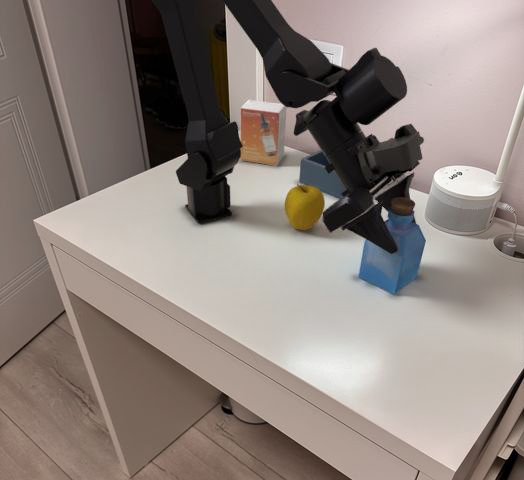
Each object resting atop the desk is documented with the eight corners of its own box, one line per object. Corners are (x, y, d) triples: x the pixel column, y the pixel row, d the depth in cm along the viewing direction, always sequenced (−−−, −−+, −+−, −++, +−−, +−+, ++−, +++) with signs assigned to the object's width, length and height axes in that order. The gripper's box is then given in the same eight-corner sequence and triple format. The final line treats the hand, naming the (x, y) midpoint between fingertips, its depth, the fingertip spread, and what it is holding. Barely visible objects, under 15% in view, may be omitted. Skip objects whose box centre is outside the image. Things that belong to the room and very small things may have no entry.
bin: (344, 200, 97) (347, 176, 94) (299, 182, 102) (300, 158, 99) (376, 181, 103) (380, 158, 100) (332, 165, 108) (334, 142, 105)
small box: (239, 161, 109) (239, 107, 102) (248, 150, 113) (248, 98, 106) (277, 166, 108) (279, 112, 100) (284, 155, 111) (287, 102, 104)
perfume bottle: (416, 277, 80) (435, 202, 72) (394, 294, 76) (411, 218, 68) (381, 261, 83) (396, 188, 75) (358, 277, 79) (370, 202, 71)
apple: (275, 228, 90) (277, 183, 84) (300, 214, 93) (303, 170, 88) (305, 242, 86) (308, 196, 81) (329, 228, 90) (334, 183, 84)
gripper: (355, 131, 60) (427, 248, 62) (420, 89, 71) (478, 189, 74) (291, 180, 68) (357, 281, 71) (358, 135, 79) (413, 224, 82)
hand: (404, 241), depth 74 cm, fingers closed on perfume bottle, 6 cm apart
